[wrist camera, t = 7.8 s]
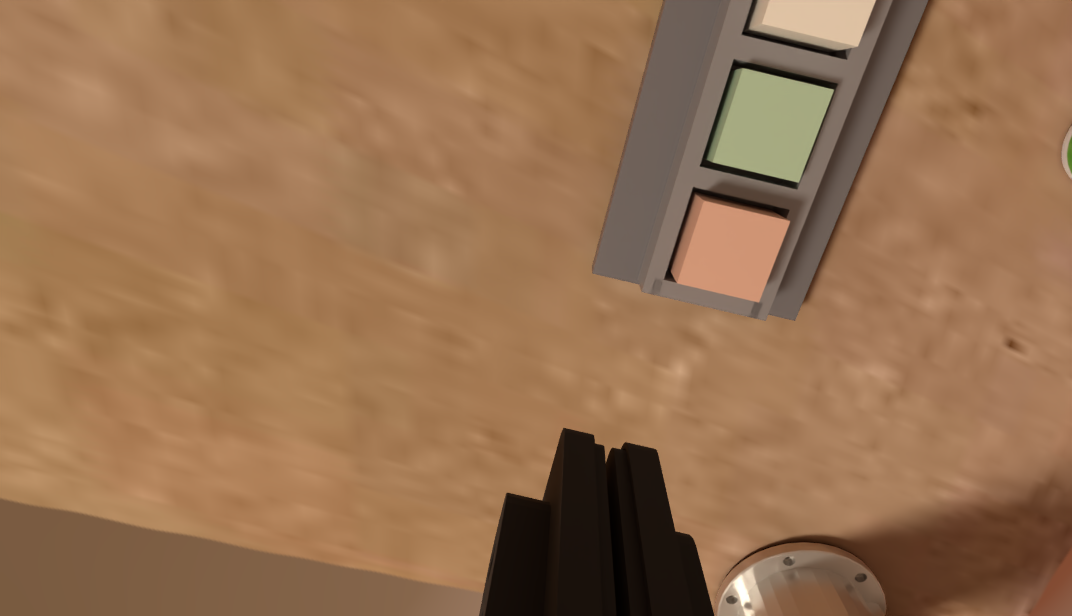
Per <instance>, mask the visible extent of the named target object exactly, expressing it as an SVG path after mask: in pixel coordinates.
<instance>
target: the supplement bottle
mask: <svg viewBox="0 0 1072 616" xmlns="http://www.w3.org/2000/svg"><path fill="white" fill-rule="evenodd" d="M1061 157H1062V164H1063V167H1064V169H1065V171H1066V173H1067V174H1068V176H1069V177H1070V178H1071V179H1072V125H1071V127H1070V128H1069V130H1068V132H1067V134H1066V137H1065V139H1064V142H1063V146H1062V153H1061Z"/></svg>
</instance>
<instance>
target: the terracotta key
mask: <svg viewBox="0 0 1072 616" xmlns="http://www.w3.org/2000/svg"><path fill="white" fill-rule="evenodd" d="M789 224H790V221H789V220H788V219H786V218H784V217H782V216H781V215H779V214H777V213H775V212H773V211H772V210H769V209H765V208H760V207H756V206H752V205H748V204H743V203H739V202H735V201H731V200H726V199H722V198H718V197H714V196H709V195H705V194H701V193H697V192H692V194H691V197H690V201H689V204H688V207H687V210H686V213H685V216H684V219H683V223H682V226H681V229H680V232H679V235H678V238H677V241H676V245H675V248H674V251H673V254H672V257H671V260H670V263H669V267H668V268H669V269H670V271H671V273H672V275H673V277H674V279H675V280H676V282H677V283H678V284H682V285H686V286H691V287H695V288H699V289H703V290H708V291H712V292H716V293H720V294H725V295H729V296H733V297H738V298H742V299H746V300H750V301H755V302H759V301H760V299H761V296H762V293H763V291H764V288H765V286H766V283H767V280H768V278H769V275H770V273H771V270H772V267H773V265H774V262H775V260H776V257H777V255H778V252H779V249H780V247H781V244H782V242H783V239H784V236H785V234H786V231H787V229H788V226H789Z"/></svg>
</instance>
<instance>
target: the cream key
mask: <svg viewBox="0 0 1072 616" xmlns="http://www.w3.org/2000/svg"><path fill="white" fill-rule="evenodd" d="M875 1H876V0H753V2H752V5H751V9H750V12H749V15H748V18H747V21H746V24H745V27H744V31H743V32H746V33H750V34H755V35H759V36H763V37H767V38H771V39H776V40H780V41H784V42H788V43H792V44H797V45H801V46H805V47H809V48H813V49H818V50H822V51H826V52H833V51H838V50H843V49H849V48H854V47H858V45H859V43H860V40H861V37H862V35H863V32H864V30H865V27H866V24H867V22H868V19H869V17H870V14H871V12H872V9H873V6H874V4H875Z"/></svg>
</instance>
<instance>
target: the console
mask: <svg viewBox="0 0 1072 616" xmlns="http://www.w3.org/2000/svg"><path fill="white" fill-rule="evenodd" d="M752 2H753V0H663V3H662V7H661V10H660V14H659V18H658V22H657V25H656V29H655V33H654V37H653V40H652V44H651V48H650V52H649V55H648V59H647V63H646V67H645V70H644V74H643V78H642V82H641V85H640V89H639V93H638V97H637V100H636V104H635V108H634V111H633V115H632V119H631V123H630V126H629V130H628V134H627V138H626V141H625V145H624V149H623V153H622V156H621V160H620V164H619V168H618V171H617V175H616V179H615V183H614V186H613V190H612V194H611V198H610V201H609V205H608V209H607V213H606V216H605V220H604V224H603V228H602V231H601V235H600V239H599V243H598V246H597V250H596V254H595V257H594V261H593V265H592V273H593V274H597V275H601V276H606V277H610V278H614V279H618V280H623V281H627V282H631V283H636V284H639V285H640V288H641V291H642V292H644V293H649V294H653V295H657V296H661V297H666V298H670V299H674V300H679V301H683V302H687V303H691V304H696V305H700V306H704V307H709V308H713V309H717V310H721V311H726V312H730V313H734V314H738V315H743V316H747V317H751V318H756V319H760V320H764V321H766V319H767V316H768V315H772V316H777V317H781V318H785V319H790V320H794V321H795V319H796V317H797V315H798V312H799V310H800V307H801V305H802V303H803V300H804V298H805V295H806V293H807V291H808V288H809V286H810V283H811V281H812V279H813V276H814V274H815V271H816V269H817V267H818V264H819V262H820V259H821V257H822V255H823V252H824V250H825V247H826V245H827V243H828V240H829V238H830V235H831V233H832V231H833V228H834V226H835V223H836V221H837V219H838V216H839V214H840V211H841V209H842V207H843V204H844V202H845V199H846V197H847V195H848V192H849V190H850V187H851V185H852V183H853V180H854V178H855V175H856V173H857V171H858V168H859V166H860V163H861V161H862V159H863V156H864V154H865V151H866V149H867V147H868V144H869V142H870V139H871V137H872V135H873V132H874V130H875V127H876V125H877V123H878V120H879V118H880V115H881V113H882V111H883V108H884V106H885V103H886V101H887V98H888V96H889V94H890V91H891V89H892V86H893V84H894V82H895V79H896V77H897V74H898V72H899V70H900V67H901V65H902V62H903V60H904V58H905V55H906V53H907V50H908V48H909V46H910V43H911V41H912V38H913V36H914V34H915V31H916V29H917V26H918V24H919V22H920V19H921V17H922V14H923V12H924V10H925V7H926V5H927V2H928V0H876V1H875V4H874V6H873V9H872V12H871V14H870V17H869V19H868V22H867V24H866V27H865V30H864V32H863V35H862V37H861V40H860V43H859V45H858V47H854V48H849V49H843V50H838V51H833V52H826V51H822V50H818V49H813V48H809V47H805V46H801V45H797V44H792V43H788V42H784V41H780V40H776V39H771V38H767V37H763V36H759V35H755V34H750V33H746V32H743V31H744V27H745V24H746V21H747V18H748V15H749V12H750V9H751V5H752ZM741 68H745V69H749V70H753V71H757V72H761V73H766V74H770V75H774V76H778V77H783V78H787V79H791V80H795V81H799V82H804V83H808V84H812V85H816V86H820V87H825V88H829V89H833V90H834V92H833V94H832V97H831V100H830V102H829V105H828V107H827V110H826V113H825V115H824V118H823V120H822V123H821V126H820V128H819V131H818V133H817V136H816V139H815V141H814V144H813V147H812V149H811V152H810V154H809V157H808V160H807V162H806V165H805V167H804V170H803V173H802V175H801V178H800V181H799V183H798V182H794V181H790V180H785V179H781V178H777V177H773V176H768V175H764V174H760V173H756V172H751V171H747V170H743V169H739V168H734V167H730V166H726V165H722V164H718V163H713V162H711V161H709V160H706V159H704V158H702V157H703V154H704V151H705V148H706V145H707V141H708V138H709V135H710V132H711V129H712V126H713V123H714V119H715V116H716V113H717V110H718V107H719V104H720V100H721V97H722V94H723V91H724V88H725V85H726V82H727V78H728V75H729V72H730V71H731V70H736V69H741ZM692 192H697V193H701V194H705V195H709V196H714V197H718V198H722V199H726V200H731V201H735V202H739V203H743V204H748V205H752V206H756V207H760V208H765V209H769V210H772V211H773V212H775V213H777V214H779V215H781V216H782V217H784V218H786V219H788V220H789V221H790V224H789V226H788V229H787V231H786V234H785V236H784V239H783V242H782V244H781V247H780V249H779V252H778V255H777V257H776V260H775V262H774V265H773V267H772V270H771V273H770V275H769V278H768V280H767V283H766V286H765V288H764V291H763V293H762V296H761V299H760V301H759V302H755V301H750V300H746V299H742V298H738V297H733V296H729V295H725V294H720V293H716V292H712V291H708V290H703V289H699V288H695V287H691V286H686V285H682V284H678V283H677V282H676V280H675V279H674V277H673V275H672V273H671V271H670V269H669V268H668V267H669V263H670V260H671V257H672V254H673V251H674V248H675V245H676V241H677V238H678V235H679V232H680V229H681V226H682V223H683V219H684V216H685V213H686V210H687V207H688V204H689V201H690V197H691V194H692Z"/></svg>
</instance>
